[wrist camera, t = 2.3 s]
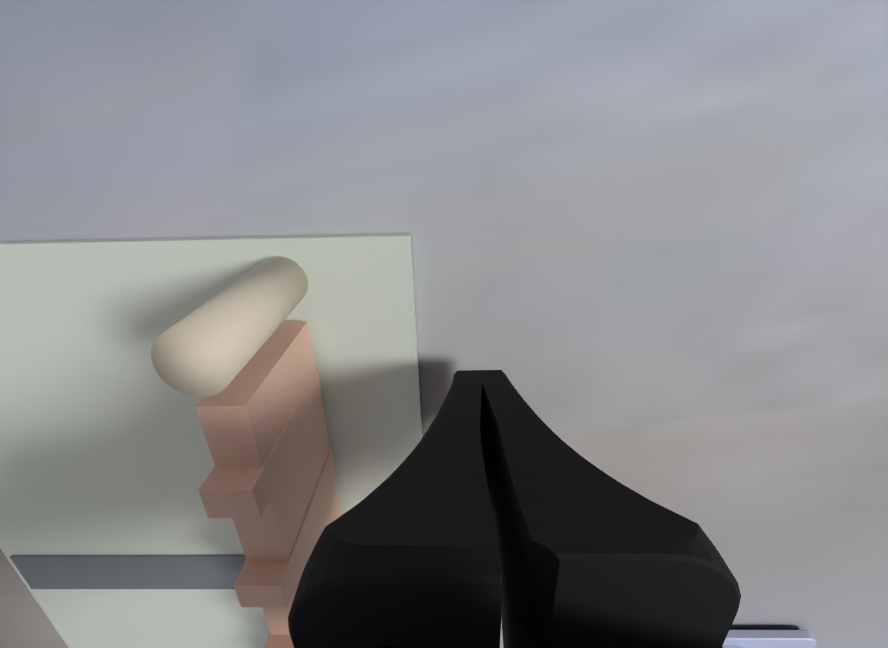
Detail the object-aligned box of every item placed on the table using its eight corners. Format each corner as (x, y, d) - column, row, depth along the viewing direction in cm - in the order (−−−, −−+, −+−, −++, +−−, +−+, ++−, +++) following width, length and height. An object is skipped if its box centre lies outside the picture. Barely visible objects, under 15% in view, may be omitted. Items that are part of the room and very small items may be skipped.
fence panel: (355, 557, 16) (321, 707, 12) (318, 557, 16) (272, 707, 12) (303, 255, 11) (215, 333, 7) (251, 256, 11) (131, 334, 7)
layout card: (439, 729, 23) (439, 738, 23) (132, 726, 23) (127, 735, 23) (410, 233, 11) (408, 236, 11) (-193, 245, 12) (-214, 249, 12)
